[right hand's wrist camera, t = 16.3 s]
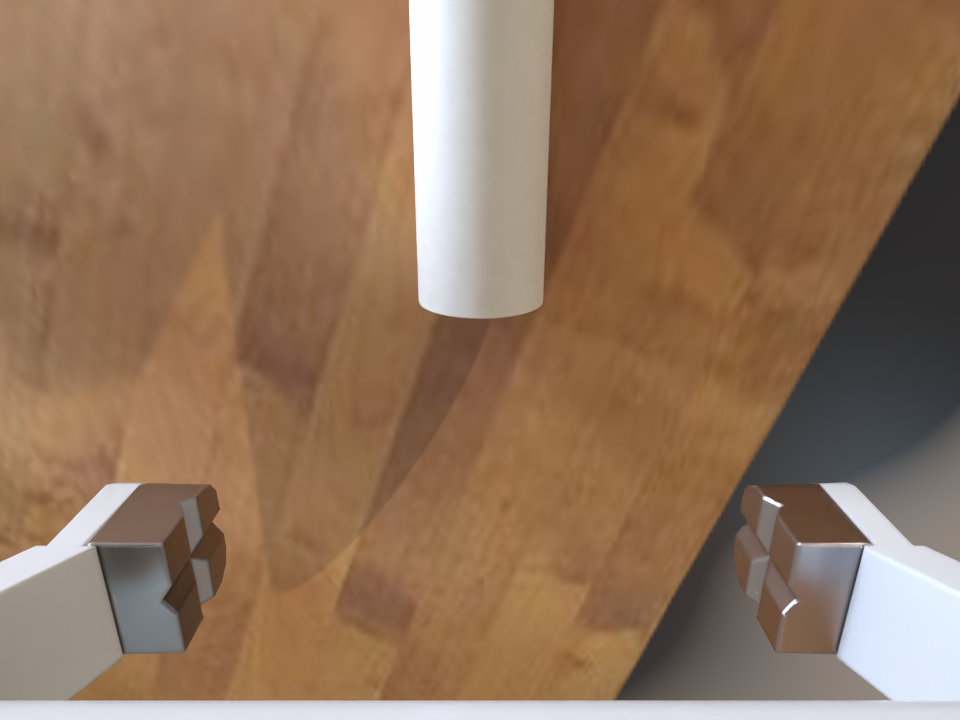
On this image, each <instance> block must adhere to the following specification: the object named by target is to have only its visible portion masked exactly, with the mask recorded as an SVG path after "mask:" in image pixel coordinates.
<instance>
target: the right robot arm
mask: <svg viewBox="0 0 960 720" xmlns="http://www.w3.org/2000/svg"><path fill="white" fill-rule="evenodd" d="M219 510H220V508H219V503H218V498H217V493H216V490H215V489H214V488H213V487H212V486H211V485H210V484H159V483H146V484H144V483H114V484H109V485H106V486H105V487H104V488H103V489H102V490H101V491H100V492H99V493H98V494H97V495H96V496H95V497H94V498H93V499H92V500H91V501H90V502H89V503H88V504H87V505H86V506H85V507H84V508H83V509H82V510H81V511H80V512H79V513H78V514H77V515H76V516H75V517H74V518H73V519H72V521H71V522H70V523H69V524H68V525H67V526H66V527H65V528H64V529H63V530H62V531H61V532H60V533H59V534H58V535H57V536H56V537H55V538H54V539H53V540H52V541H51V542H50V543H49V544H48V545H47V546H34V547H32V548H30V549H28V550H26V551H23V552H21V553H19V554H17V555H15V556H12V557H10V558H8V559H6V560H4V561H1V562H0V720H960V562H958V561H956V560H954V559H952V558H950V557H947V556H945V555H943V554H941V553H939V552H936V551H934V550H932V549H930V548H928V547H926V546H913V545H912V544H911V543H910V542H909V541H908V540H907V539H906V538H905V537H904V536H903V535H902V534H901V533H900V532H899V531H898V530H897V529H896V528H895V527H894V526H893V525H892V524H891V522H890V521H889V520H888V519H887V518H886V517H885V516H884V515H883V514H882V513H881V512H880V511H879V510H878V509H877V508H876V507H875V506H874V505H873V504H872V503H871V502H870V501H869V500H868V499H867V498H866V497H865V496H864V495H863V494H862V493H861V492H860V491H859V490H858V489H857V487H856V486H854V485H851V484H849V483H821V484H790V485H752V486H747V487H746V489H745V492H744V494H743V497H742V502H741V508H740V510H741V511H742V513H743V515H744V516H745V518H746V519H747V521H748V522H747V523H746V524H745V525H744V526H743V527H742V528H741V530H739V532H738V533H737V534H736V539H735V546H734V562H735V571H736V575H737V578H738V582H739V584H740V586H741V588H742V590H743V592H744V594H745V596H746V597H748V598H749V599H751V600H752V601H754V602H755V603H757V604H758V605H759V609H758V615H757V619H758V621H759V623H760V624H761V626H762V628H763V630H764V632H765V634H766V636H767V637H768V639H769V641H770V643H771V645H772V647H773V649H774V650H775V652H777V653H813V654H837V658H838V659H840V660H841V661H842V662H844V663H845V664H846V665H847V666H849V667H850V668H851V669H852V670H854V671H855V672H856V673H857V674H859V675H860V676H861V677H862V678H864V679H865V680H866V681H867V682H869V683H870V684H871V685H872V686H874V687H875V688H876V689H877V690H879V691H880V692H881V693H883V694H884V695H885V696H886V697H888V698H889V699H890V700H866V701H865V700H862V701H861V700H860V701H859V700H857V701H856V700H854V701H853V700H851V701H849V700H842V701H841V700H832V701H830V700H829V701H828V700H823V701H821V700H814V701H813V700H812V701H808V700H804V701H802V700H800V701H798V700H797V701H793V700H790V701H789V700H788V701H242V700H241V701H240V700H239V701H237V700H236V701H235V700H70V699H71V698H73V697H74V696H75V695H77V694H78V693H79V692H80V691H82V690H83V689H84V688H85V687H87V686H88V685H89V684H90V683H92V682H93V681H94V680H95V679H97V678H98V677H99V676H100V675H102V674H103V673H104V672H105V671H107V670H108V669H109V668H110V667H112V666H113V665H114V664H116V663H117V662H118V661H119V660H121V659H122V658H123V654H147V653H182V652H185V651H186V649H187V647H188V645H189V643H190V641H191V639H192V637H193V636H194V634H195V632H196V630H197V628H198V626H199V624H200V623H201V621H202V619H203V615H202V609H201V605H202V604H203V603H205V602H206V601H208V600H209V599H211V598H212V597H214V596H215V594H216V592H217V590H218V588H219V586H220V584H221V582H222V578H223V574H224V569H225V565H226V544H225V538H224V534H223V533H222V532H221V530H220V529H219V528H218V527H217V526H216V525H215V524H214V523H213V522H212V521H213V519H214V518H215V516H216V515H217V513H218V511H219Z"/></svg>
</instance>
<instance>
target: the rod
mask: <svg viewBox="0 0 960 720" xmlns="http://www.w3.org/2000/svg"><path fill="white" fill-rule="evenodd" d="M409 16H410V46H411V77H412V107H413V138H414V169H415V199H416V230H417V261H418V291H419V303H420V305H421V306H422V307H423V308H425V309H427V310H429V311H431V312H434V313H437V314H441V315H445V316H451V317H458V318H470V319H493V318H505V317H512V316H517V315H522V314H525V313H529V312H531V311H534V310H536V309H537V308H539V307H540V306H541V305H542V303H543V289H544V262H545V235H546V208H547V181H548V154H549V127H550V100H551V73H552V45H553V18H554V0H409Z"/></svg>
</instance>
